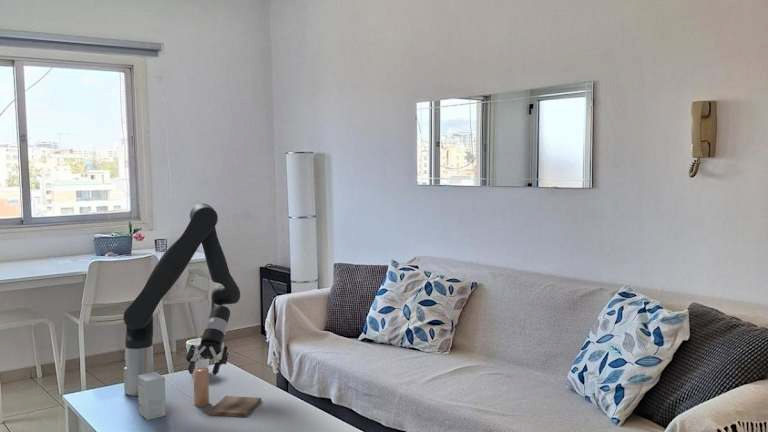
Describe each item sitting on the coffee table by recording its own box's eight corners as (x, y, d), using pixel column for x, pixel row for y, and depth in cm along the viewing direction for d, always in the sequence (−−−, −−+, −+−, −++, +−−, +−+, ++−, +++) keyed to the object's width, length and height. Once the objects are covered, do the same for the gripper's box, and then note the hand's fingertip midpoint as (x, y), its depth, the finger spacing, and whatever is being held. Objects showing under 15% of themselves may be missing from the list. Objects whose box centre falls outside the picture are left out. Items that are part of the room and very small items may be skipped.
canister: (191, 405, 229) (191, 371, 229) (197, 400, 234) (197, 367, 233) (205, 406, 229) (204, 372, 228) (211, 401, 234) (210, 367, 233)
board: (208, 414, 221) (208, 411, 221) (225, 399, 236) (225, 395, 236) (246, 416, 219) (246, 413, 219) (261, 401, 234) (261, 397, 234)
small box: (166, 415, 220) (165, 377, 219) (147, 420, 216) (146, 381, 215) (157, 409, 227) (156, 371, 226) (138, 413, 223) (137, 375, 222)
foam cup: (207, 377, 260) (206, 344, 260) (183, 377, 261) (183, 344, 260) (214, 370, 270) (213, 338, 269) (191, 369, 270) (190, 338, 269)
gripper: (192, 326, 240) (179, 367, 230) (230, 328, 238) (218, 369, 228) (199, 337, 246) (186, 377, 235) (236, 338, 244) (225, 379, 233)
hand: (202, 373), depth 232 cm, fingers open, 8 cm apart
